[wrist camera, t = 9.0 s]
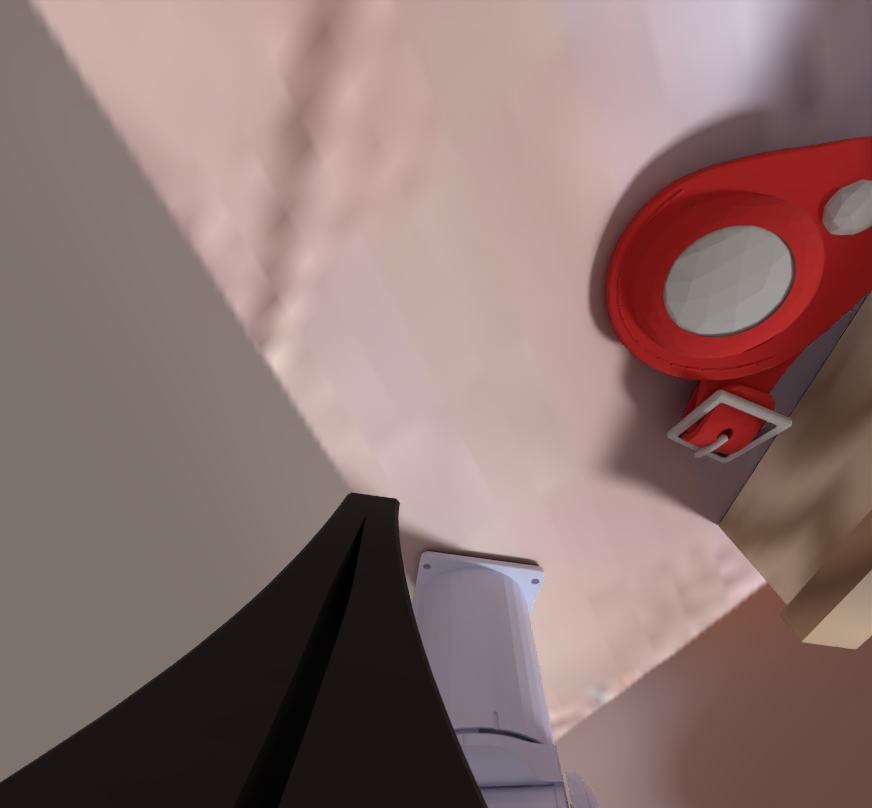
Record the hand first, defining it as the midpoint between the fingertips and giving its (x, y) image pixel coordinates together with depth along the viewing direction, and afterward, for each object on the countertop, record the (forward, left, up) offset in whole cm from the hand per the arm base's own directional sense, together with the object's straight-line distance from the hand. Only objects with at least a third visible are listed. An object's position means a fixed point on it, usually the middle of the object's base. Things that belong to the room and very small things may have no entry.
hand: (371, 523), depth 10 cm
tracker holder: (+6, -12, -10) cm, 17 cm away
